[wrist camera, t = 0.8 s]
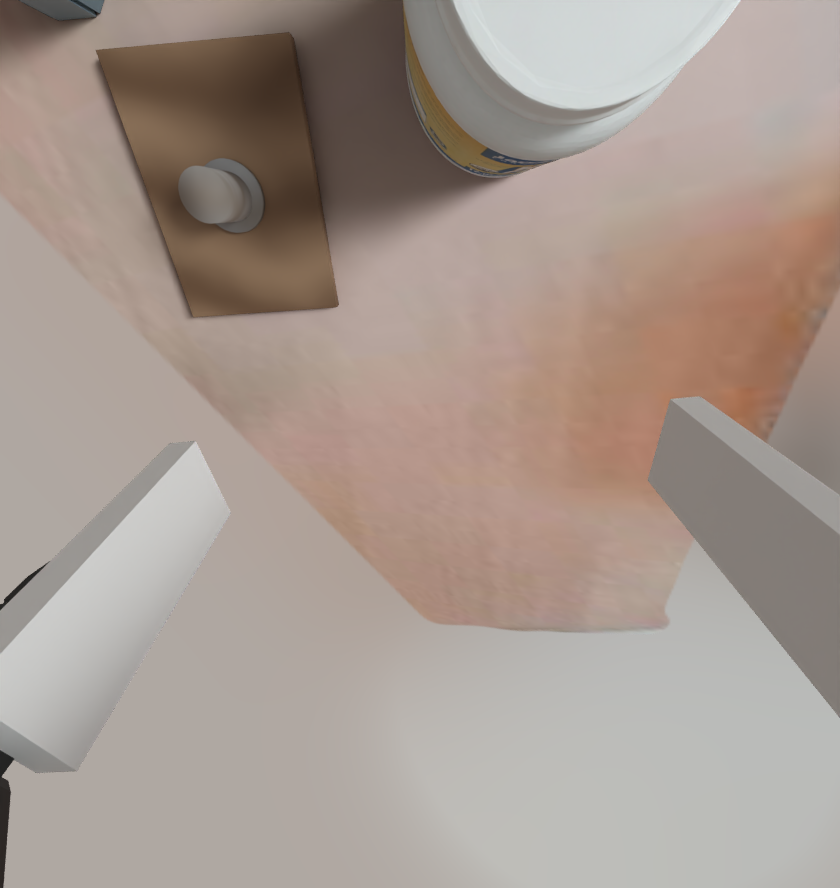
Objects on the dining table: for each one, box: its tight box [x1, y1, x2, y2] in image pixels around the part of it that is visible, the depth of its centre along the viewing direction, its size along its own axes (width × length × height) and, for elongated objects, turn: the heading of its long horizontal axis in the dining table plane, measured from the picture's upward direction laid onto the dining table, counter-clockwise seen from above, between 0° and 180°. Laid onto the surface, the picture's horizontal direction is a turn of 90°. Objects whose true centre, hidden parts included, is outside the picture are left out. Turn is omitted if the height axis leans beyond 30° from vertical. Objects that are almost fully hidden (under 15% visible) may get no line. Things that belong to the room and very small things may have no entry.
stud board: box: [96, 32, 339, 317], centre depth 26 cm, size 16×12×6 cm
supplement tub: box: [403, 0, 741, 178], centre depth 18 cm, size 12×12×17 cm
